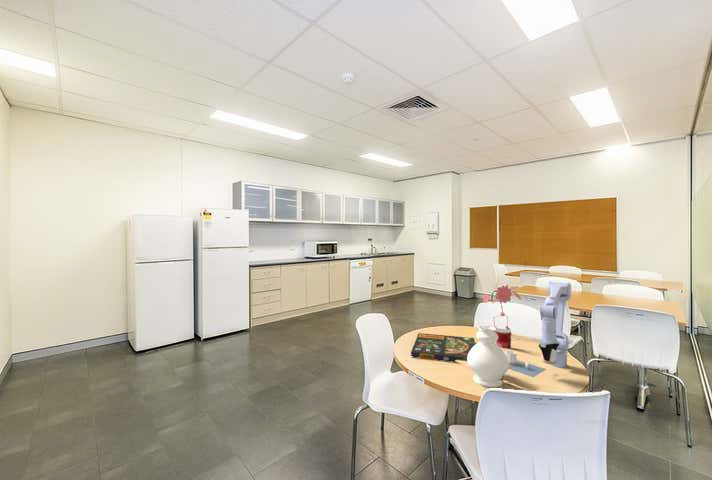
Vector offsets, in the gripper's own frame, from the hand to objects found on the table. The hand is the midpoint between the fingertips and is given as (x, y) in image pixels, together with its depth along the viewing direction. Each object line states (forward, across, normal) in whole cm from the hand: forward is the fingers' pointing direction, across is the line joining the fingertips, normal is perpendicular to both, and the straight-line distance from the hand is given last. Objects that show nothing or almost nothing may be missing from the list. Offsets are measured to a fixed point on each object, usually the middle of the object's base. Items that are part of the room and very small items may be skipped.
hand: (549, 358), depth 143 cm
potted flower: (+9, +42, +42) cm, 60 cm away
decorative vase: (+9, -26, +17) cm, 32 cm away
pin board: (+9, -2, +13) cm, 16 cm away
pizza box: (+10, -8, +54) cm, 55 cm away
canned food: (+9, +21, +32) cm, 39 cm away
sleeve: (+2, 0, 0) cm, 2 cm away
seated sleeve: (+8, -2, +17) cm, 19 cm away
